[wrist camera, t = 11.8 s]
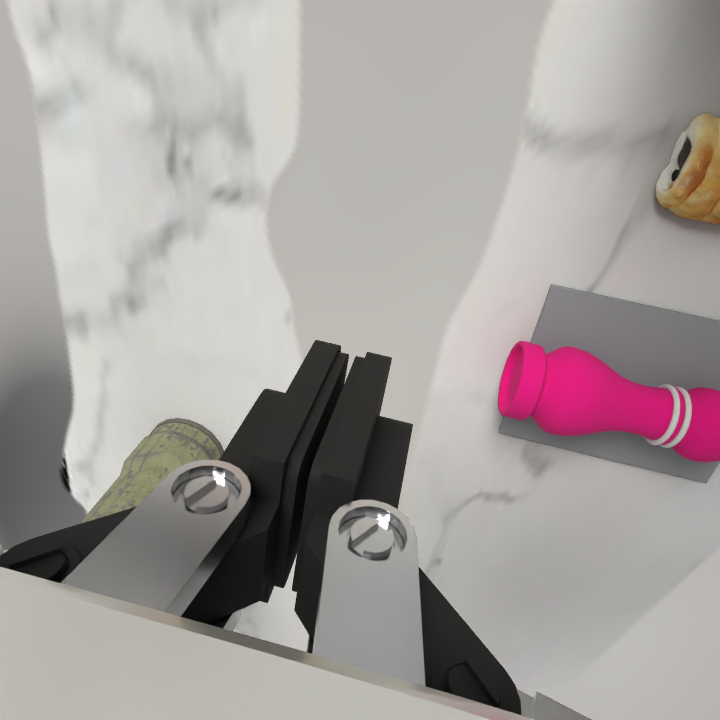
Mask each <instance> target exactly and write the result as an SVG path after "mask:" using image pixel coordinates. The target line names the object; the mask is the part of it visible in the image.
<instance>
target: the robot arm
mask: <svg viewBox="0 0 720 720" xmlns="http://www.w3.org/2000/svg"><path fill="white" fill-rule="evenodd" d="M348 358H349V355H348V354H345V353H341V346H340V345H336V344H332V343H327V342H323V341H319V340H315V342H314V343H313V345H312V347H311V349H310V351H309V352H308V354H307V356H306V358H305V359H304V361H303V363H302V365H301V367H300V368H299V370H298V372H297V374H296V375H295V377H294V379H293V381H292V383H291V384H290V386H289V388H288V390H287V391H286V393H283V392H279V391H275V390H270V389H264V390H263V392H262V393H261V394H260V396H259V397H258V399H257V401H256V402H255V404H254V405H253V407H252V409H251V410H250V412H249V413H248V415H247V416H246V418H245V420H244V421H243V423H242V424H241V426H240V428H239V429H238V431H237V432H236V434H235V435H234V437H233V439H232V440H231V442H230V443H229V445H228V447H227V448H226V450H225V451H224V453H223V454H222V456H221V458H220V459H219V460H199V461H194V462H190V463H187V464H185V465H182V466H180V467H178V468H177V469H176V470H174V471H173V472H172V473H170V474H169V475H168V476H167V477H166V478H165V479H164V480H163V481H162V482H161V483H160V484H159V485H158V486H157V487H156V488H155V489H154V490H153V491H152V492H151V493H150V494H149V495H148V496H147V497H146V498H145V499H144V500H143V501H142V502H141V503H140V504H139V505H138V506H136V507H133V508H130V509H126V510H123V511H120V512H117V513H114V514H110V515H107V516H104V517H101V518H97V519H94V520H91V521H88V522H84V523H81V524H78V525H75V526H72V527H68V528H65V529H62V530H59V531H55V532H52V533H49V534H46V535H42V536H40V537H36V538H33V539H30V540H28V541H25V542H23V543H20V544H18V545H16V546H14V547H12V548H11V549H9V550H2V546H1V543H0V720H591V719H589V718H587V717H585V716H583V715H581V714H580V713H577V712H576V711H574V710H572V709H570V708H568V707H566V706H564V705H562V704H560V703H558V702H556V701H554V700H552V699H550V698H548V697H546V696H544V695H542V694H541V693H539V692H536V694H535V696H534V698H533V697H531V696H529V695H527V694H525V693H523V692H521V691H519V690H517V689H516V686H515V684H514V682H513V681H512V679H511V678H510V676H509V675H508V673H507V672H506V670H505V669H504V668H503V667H502V665H501V664H500V663H499V662H498V661H497V659H496V658H495V657H494V656H493V655H492V654H491V652H490V651H489V650H488V649H487V648H486V646H485V645H484V644H483V643H482V642H481V640H480V639H479V638H478V637H477V636H476V634H475V633H474V632H473V631H472V630H471V628H470V627H469V626H468V625H467V624H466V622H465V621H464V620H463V619H462V618H461V617H460V615H459V614H458V613H457V612H456V611H455V609H454V608H453V607H452V606H451V605H450V603H449V602H448V601H447V600H446V599H445V597H444V596H443V595H442V594H441V593H440V591H439V590H438V589H437V588H436V587H435V585H434V584H433V583H432V582H431V581H430V580H429V578H428V577H427V576H426V575H425V574H424V572H423V571H422V570H421V569H420V568H419V566H418V552H417V538H416V534H415V530H414V527H413V525H412V524H411V522H410V521H409V519H408V518H407V517H406V516H405V515H404V514H403V513H402V512H400V511H399V510H398V503H399V498H400V492H401V487H402V482H403V476H404V470H405V465H406V459H407V454H408V449H409V443H410V438H411V432H412V426H413V425H412V424H410V423H406V422H402V421H398V420H394V419H390V418H385V417H381V416H379V415H380V410H381V406H382V401H383V397H384V392H385V388H386V383H387V378H388V374H389V369H390V365H391V359H392V358H391V357H387V356H382V355H379V354H374V353H370V352H367V354H366V356H365V358H362V357H358V356H356V357H355V359H354V362H353V365H352V367H351V369H350V372H349V374H348V377H347V379H346V382H345V376H346V370H347V364H348ZM344 382H345V384H344ZM296 554H297V558H296V565H295V572H294V579H293V585H292V591H295V592H297V597H296V603H295V612H296V614H297V615H298V617H299V619H300V620H301V622H302V624H303V625H304V627H305V629H306V630H307V632H308V634H309V637H308V642H307V649H306V652H304V651H300V650H297V649H293V648H290V647H286V646H282V645H279V644H275V643H272V642H268V641H265V640H261V639H258V638H254V637H251V636H247V635H244V634H240V633H236V632H233V629H234V628H235V626H236V625H237V622H238V620H239V617H240V615H241V609H243V608H245V607H247V606H249V605H252V604H254V603H256V602H258V601H262V602H266V603H268V601H269V598H270V596H271V593H272V590H273V588H274V586H277V587H281V588H284V586H285V584H286V582H287V579H288V576H289V574H290V571H291V568H292V565H293V563H294V560H295V557H296Z"/></svg>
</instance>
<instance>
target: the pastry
mask: <svg viewBox="0 0 720 720" xmlns="http://www.w3.org/2000/svg"><path fill="white" fill-rule="evenodd" d="M656 197H657V200H658V202H659V203H660V205H661V206H662V207H665V208H668V209H669V210H671V211H672V212H673V213H674V214H675V215H677V216H678V217H681V218H684V219H691V220H698V221H705V222H708V223H711V224H720V118H717V117H714V116H712V115H711V114H709V113H704V114H700V115H698V116H696V117H694V118H693V119H692V120H691V123H690V124H689V126H688V128H687V129H686V130H685V131H683V132H682V133H681V135H680V137H679V138H678V140H677V142H676V144H675V147H674V151H673V153H672V155H671V159H670V163H669V165H668V166H667V167H666V168H665V169H664V170H663V172H662V173H661V175H660V177H659V179H658V182H657V184H656Z"/></svg>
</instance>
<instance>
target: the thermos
mask: <svg viewBox="0 0 720 720" xmlns="http://www.w3.org/2000/svg"><path fill="white" fill-rule="evenodd" d="M223 453H224V451H223V449H222V446H221V444H220V442H219V441H218V440H217V438H216V437H215V436H214V435H213V434H212V433H211V432H210V431H209V430H207V429H206V428H205V427H203V426H202V425H200V424H197V423H195V422H193V421H191V420H185V419H179V418H176V419H168V420H165V421H163V422H161V423H159V424H158V425H157V426H156V427H155V429H154V430H153V431H152V432H151V434H150V435H149V436H147V437H145V438H144V439H143V440H142V441H141V443H140V444H139V445H138V446H137V447H136V449H135V450H134V451H133V452H132V453H131V454H130V456H129V457H128V458H127V459H126V460H125V461H124V464H123V468H122V471H121V474H120V476H119V477H118V479H117V480H116V481H115V482H114V483H113V484H112V486H111V487H110V488H109V489H108V490H107V492H106V493H105V494H104V495H103V496H102V498H101V499H100V500H99V501H98V502H97V504H96V505H95V506H94V507H93V508H92V510H91V511H90V512H89V513H88V514H87V516H86V517H85V518H84V519H83V520H82V522H81V523H84V522H88V521H91V520H94V519H97V518H101V517H104V516H107V515H110V514H114V513H117V512H120V511H123V510H126V509H130V508H133V507H136V506H138V505H139V504H140V503H141V502H142V501H143V500H144V499H145V498H146V497H147V496H148V495H149V494H150V493H151V492H152V491H153V490H154V489H155V488H156V487H157V486H158V485H159V484H160V483H161V482H162V481H163V480H164V479H165V478H166V477H167V476H168V475H169V474H170V473H172V472H173V471H174V470H176V469H177V468H178V467H180V466H182V465H185V464H187V463H190V462H194V461H199V460H219V459H220V458H221V456H222V454H223ZM81 523H80V524H81Z"/></svg>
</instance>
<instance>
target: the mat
mask: <svg viewBox="0 0 720 720" xmlns="http://www.w3.org/2000/svg"><path fill="white" fill-rule="evenodd" d="M530 343H533V344H537V345H541V346H542V347H543V348H544V350H545V353H546V354H547V353H549V352H552V351H554V350H556V349H558V348H561V347H566V346H570V347H575V348H578V349H581V350H584V351H587V352H589V353H590V354H592V355H594V356H596V357H597V358H599V359H600V360H601V361H603V362H604V363H605V364H606V365H608V366H609V367H610V368H611V369H613V370H614V371H615V372H617V373H618V374H619V375H621V376H622V377H624V378H626V379H628V380H630V381H632V382H635V383H638V384H642V385H645V386H650V387H659V386H661V385H663V384H669V385H672V386H673V387H681V388H683V389H685V390H686V391H688V390H690V389H693V388H698V387H704V388H711V389H715V390H718V391H720V321H717V320H712V319H708V318H703V317H698V316H694V315H689V314H685V313H680V312H676V311H671V310H667V309H662V308H657V307H653V306H648V305H644V304H639V303H635V302H630V301H625V300H621V299H616V298H612V297H607V296H603V295H598V294H594V293H589V292H584V291H580V290H575V289H571V288H566V287H562V286H557V285H553V284H551V286H550V289H549V292H548V295H547V297H546V300H545V303H544V306H543V309H542V311H541V314H540V317H539V320H538V322H537V325H536V328H535V331H534V334H533V336H532V339H531V342H530ZM499 433H501V434H505V435H510V436H514V437H518V438H522V439H526V440H530V441H534V442H538V443H543V444H547V445H551V446H555V447H559V448H563V449H567V450H572V451H576V452H580V453H584V454H588V455H592V456H596V457H600V458H605V459H609V460H613V461H617V462H621V463H625V464H629V465H633V466H638V467H642V468H646V469H650V470H654V471H658V472H662V473H666V474H671V475H675V476H679V477H683V478H687V479H691V480H695V481H699V482H704V483H706V482H707V481H708V479H709V478H710V476H711V475H712V473H713V471H714V470H715V468H716V467H717V465H718V464H719V462H720V460H719V461H715V462H707V463H705V462H695V461H692V460H689V459H686V458H684V457H682V456H681V455H679V454H678V453H677V452H676V451H675V450H674V449H673V448H672V447H670V448H664V447H661V446H660V445H652V444H650V443H648V442H647V441H646V439H645V437H643V436H640V435H638V434H634V433H629V432H623V431H607V432H599V433H593V434H587V435H581V436H561V435H554V434H549V433H547V432H545V431H544V430H542V429H541V428H540V427H539V426H538V424H537V423H536V422H535V420H534V419H533V418H532V417H531V416H529V417H528V418H527V419H525V420H523V421H522V420H517V419H513V418H509V417H505V416H504V417H503V420H502V422H501V425H500V428H499Z"/></svg>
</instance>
